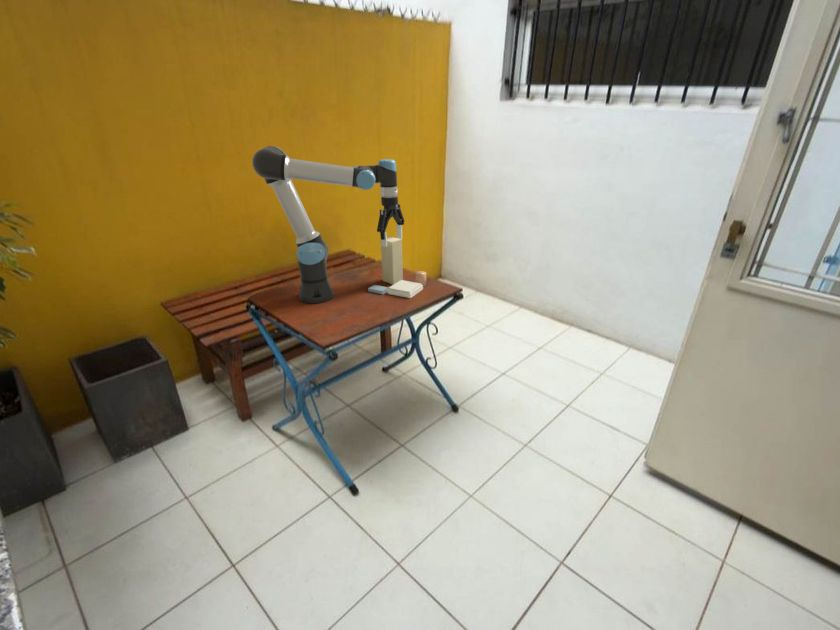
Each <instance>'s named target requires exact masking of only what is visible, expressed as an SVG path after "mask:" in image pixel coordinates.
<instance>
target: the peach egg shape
mask: <svg viewBox="0 0 840 630" xmlns="http://www.w3.org/2000/svg"><path fill="white" fill-rule="evenodd" d="M415 283H421V284H422V285H423V287H426V286H427V272H426V271H423V270H418V271H416V272H415Z"/></svg>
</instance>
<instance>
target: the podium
mask: <svg viewBox="0 0 840 630" xmlns="http://www.w3.org/2000/svg"><path fill="white" fill-rule="evenodd" d="M388 288H389V289H388V290H387V292H386V293H387V295H390V296H391V295H392V296H396V297H402V298H407V299H412V297H414V296H416V295H418V293H420V292H421V291H423V289H424V286H423V285H422V284H421V283H416V281H415V282H414V281H409V280H404V279H403V280H400V281H399V282H397V283H396V284H394V285H393V284H391V286H389V287H388Z"/></svg>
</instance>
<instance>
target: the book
mask: <svg viewBox="0 0 840 630" xmlns="http://www.w3.org/2000/svg"><path fill="white" fill-rule="evenodd" d="M367 289H368V293H369V292H370V293H375V294H379V295H384V294H386V293H387V290H388V289H389V287H387V286H382V285H378V284H373V285H372V286H370V287H368V288H367Z"/></svg>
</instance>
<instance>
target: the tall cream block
mask: <svg viewBox="0 0 840 630" xmlns="http://www.w3.org/2000/svg"><path fill="white" fill-rule="evenodd" d="M380 253H381V271H382V272H381V274H382V282H385V283H388V284H391V285H394V284H396V283H397V282H399V281H400V280H404V274H403V273H404V272H403V271H404V270H403V268H404V267H403V265H404V264H403V238H402V239H398V238H397V237H394V236H387V247H385V246H381V245H380Z"/></svg>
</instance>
